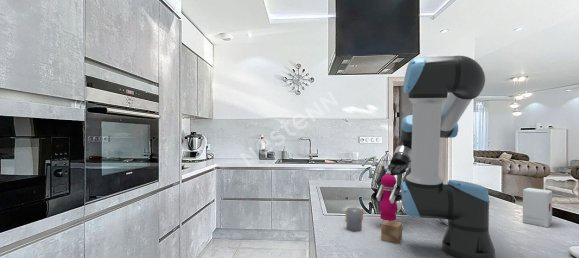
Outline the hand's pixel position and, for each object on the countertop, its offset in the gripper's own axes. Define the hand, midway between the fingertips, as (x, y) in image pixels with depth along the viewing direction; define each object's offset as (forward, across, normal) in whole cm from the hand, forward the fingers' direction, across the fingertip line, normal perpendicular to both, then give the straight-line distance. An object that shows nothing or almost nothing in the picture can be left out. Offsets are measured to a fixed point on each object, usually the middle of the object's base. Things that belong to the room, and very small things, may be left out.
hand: (384, 200), depth 119 cm
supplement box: (-33, -44, -50) cm, 74 cm away
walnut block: (+15, -7, -2) cm, 16 cm away
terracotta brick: (+7, +15, -10) cm, 19 cm away
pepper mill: (+3, 0, -9) cm, 9 cm away
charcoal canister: (+15, +9, -2) cm, 17 cm away
